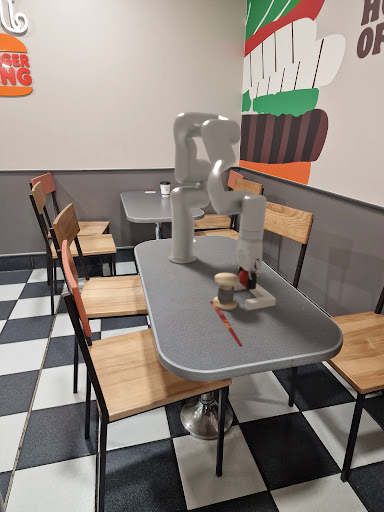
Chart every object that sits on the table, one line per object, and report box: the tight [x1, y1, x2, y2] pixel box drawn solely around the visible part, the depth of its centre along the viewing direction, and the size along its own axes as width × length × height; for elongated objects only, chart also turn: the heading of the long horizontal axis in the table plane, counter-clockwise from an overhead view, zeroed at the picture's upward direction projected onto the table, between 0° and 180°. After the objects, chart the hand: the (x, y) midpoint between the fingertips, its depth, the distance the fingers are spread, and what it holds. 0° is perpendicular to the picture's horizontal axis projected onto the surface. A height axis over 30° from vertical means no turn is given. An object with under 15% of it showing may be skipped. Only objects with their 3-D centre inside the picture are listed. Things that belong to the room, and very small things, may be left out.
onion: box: [237, 269, 254, 288], centre depth 106 cm, size 6×6×8 cm
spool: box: [212, 272, 240, 311], centre depth 103 cm, size 8×8×10 cm
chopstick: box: [209, 300, 243, 347], centre depth 95 cm, size 2×24×1 cm, turn 15°
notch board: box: [233, 282, 277, 311], centre depth 110 cm, size 16×10×2 cm, turn 20°
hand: (246, 284), depth 107 cm, fingers closed on onion, 5 cm apart
